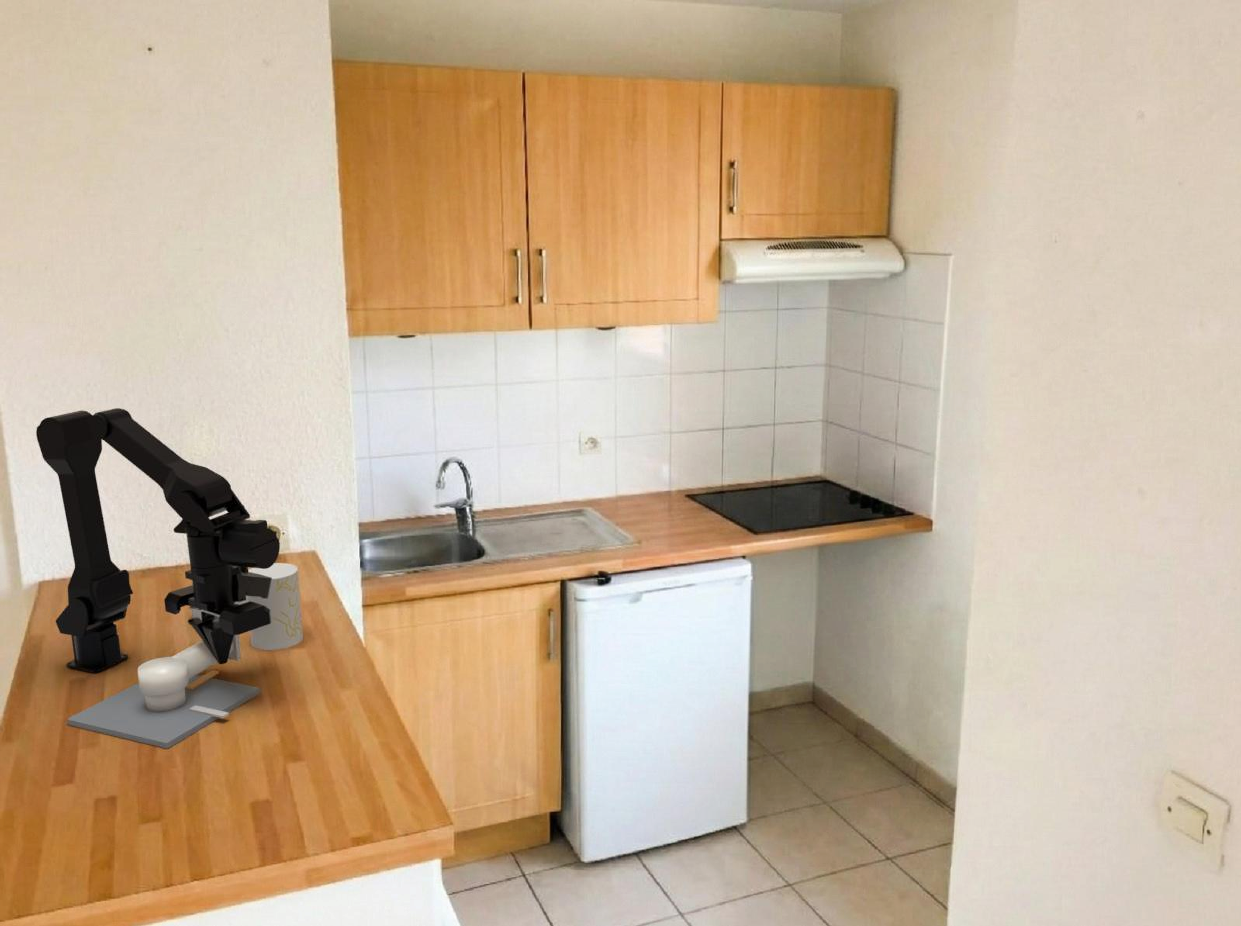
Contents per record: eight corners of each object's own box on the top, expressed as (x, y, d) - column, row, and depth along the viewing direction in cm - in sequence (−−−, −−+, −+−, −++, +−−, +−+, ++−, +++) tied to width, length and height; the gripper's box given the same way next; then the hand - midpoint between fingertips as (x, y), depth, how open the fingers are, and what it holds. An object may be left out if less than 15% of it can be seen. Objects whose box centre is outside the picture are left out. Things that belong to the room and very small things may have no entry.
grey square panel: (67, 724, 149) (64, 703, 148) (175, 668, 166) (173, 649, 166) (177, 751, 141) (175, 728, 141) (278, 690, 159) (277, 669, 158)
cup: (287, 651, 173) (282, 581, 170) (241, 647, 174) (235, 577, 172) (311, 632, 181) (306, 564, 178) (267, 629, 182) (261, 561, 179)
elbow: (167, 705, 149) (163, 673, 148) (130, 698, 151) (126, 667, 150) (245, 659, 164) (242, 629, 163) (211, 653, 166) (208, 624, 165)
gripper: (297, 558, 156) (307, 659, 160) (224, 539, 168) (234, 633, 171) (229, 579, 148) (241, 685, 151) (156, 557, 159) (169, 656, 162)
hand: (223, 663), depth 159 cm, fingers closed
